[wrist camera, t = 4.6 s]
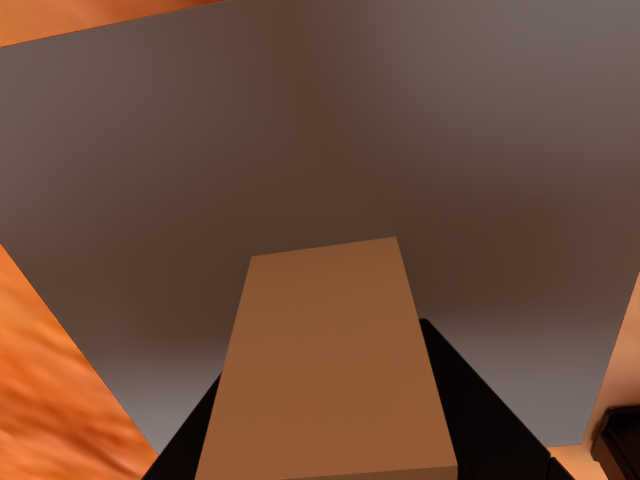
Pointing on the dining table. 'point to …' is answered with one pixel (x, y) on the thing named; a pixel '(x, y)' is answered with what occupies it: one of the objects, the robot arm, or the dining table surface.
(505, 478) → the robot arm
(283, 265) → the lid
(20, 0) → the dining table surface
